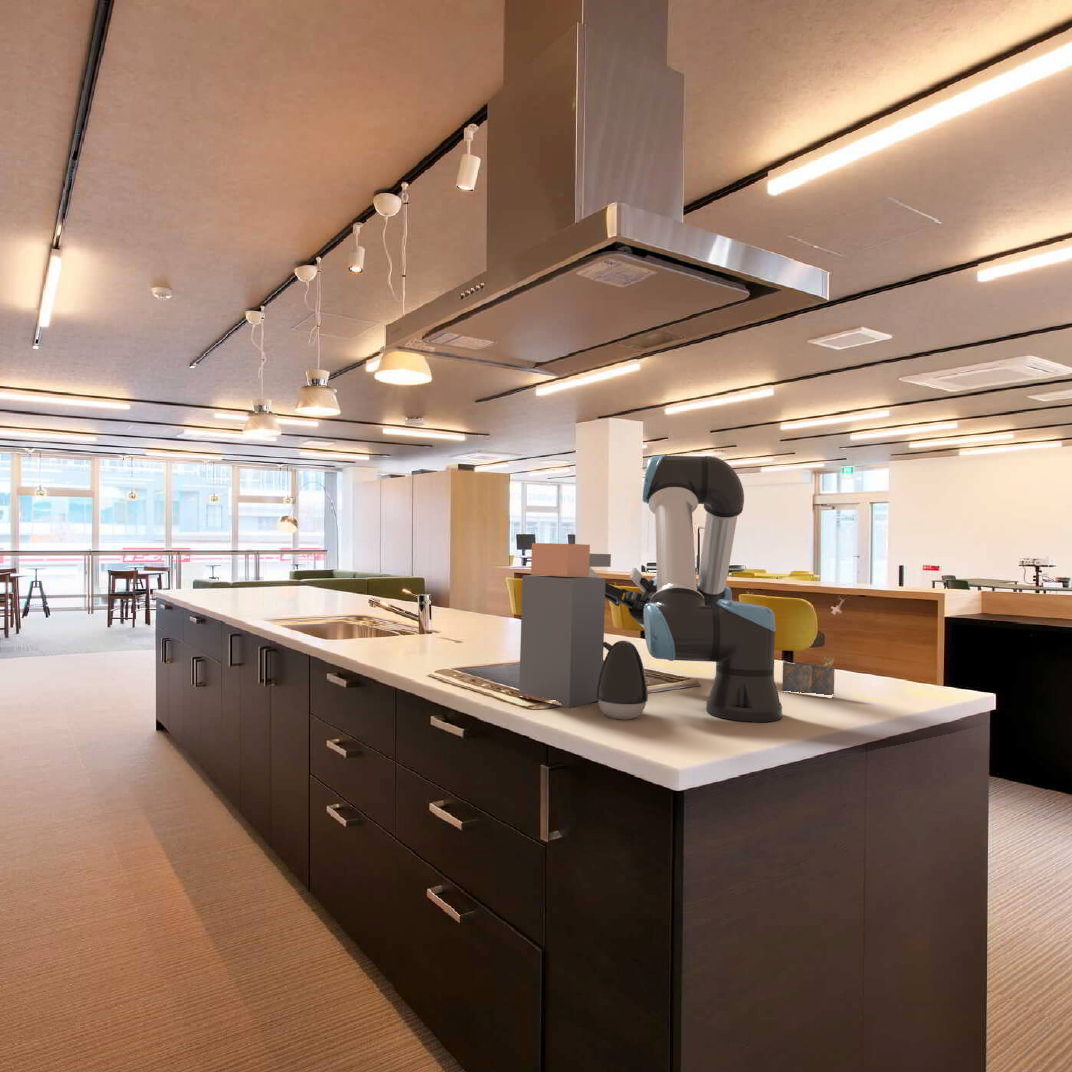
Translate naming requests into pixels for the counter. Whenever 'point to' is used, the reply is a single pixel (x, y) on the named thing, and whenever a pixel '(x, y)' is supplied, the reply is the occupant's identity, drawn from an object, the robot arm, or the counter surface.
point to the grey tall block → (562, 638)
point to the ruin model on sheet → (809, 677)
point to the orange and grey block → (565, 560)
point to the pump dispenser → (622, 682)
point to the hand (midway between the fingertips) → (608, 571)
